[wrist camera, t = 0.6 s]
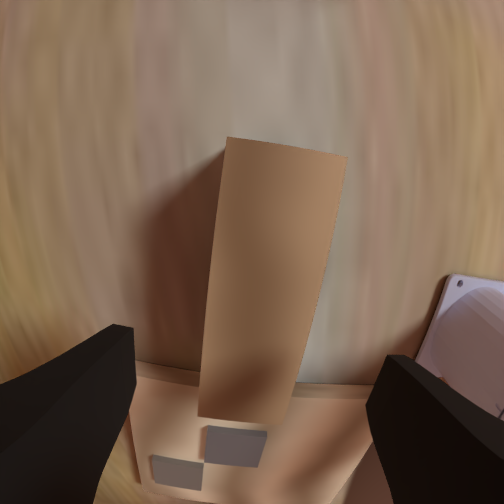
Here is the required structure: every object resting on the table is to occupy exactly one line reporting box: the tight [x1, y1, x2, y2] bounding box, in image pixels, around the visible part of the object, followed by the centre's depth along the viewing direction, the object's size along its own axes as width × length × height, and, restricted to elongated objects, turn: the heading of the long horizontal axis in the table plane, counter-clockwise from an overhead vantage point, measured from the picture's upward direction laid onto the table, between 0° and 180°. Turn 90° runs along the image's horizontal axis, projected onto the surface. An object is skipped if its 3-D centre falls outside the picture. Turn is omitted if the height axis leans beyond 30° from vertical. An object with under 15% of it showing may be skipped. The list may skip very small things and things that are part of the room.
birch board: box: [129, 360, 374, 504], centre depth 22 cm, size 18×16×2 cm
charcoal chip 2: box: [204, 425, 267, 468], centre depth 20 cm, size 4×4×1 cm
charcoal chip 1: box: [152, 454, 204, 491], centre depth 21 cm, size 4×4×1 cm
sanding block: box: [197, 137, 348, 425], centre depth 15 cm, size 4×12×6 cm, turn 172°
